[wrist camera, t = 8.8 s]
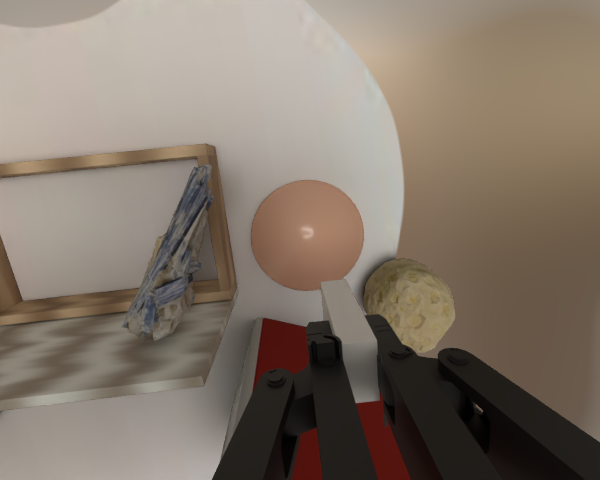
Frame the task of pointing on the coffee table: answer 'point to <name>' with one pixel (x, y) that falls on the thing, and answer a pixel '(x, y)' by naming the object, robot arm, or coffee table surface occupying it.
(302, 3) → the coffee table surface
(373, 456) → the red striped box
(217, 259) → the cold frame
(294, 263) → the peach round smooth part
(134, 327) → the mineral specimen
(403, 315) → the decorative object
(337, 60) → the coffee table surface
